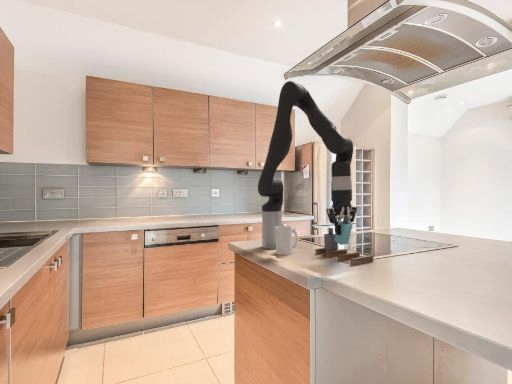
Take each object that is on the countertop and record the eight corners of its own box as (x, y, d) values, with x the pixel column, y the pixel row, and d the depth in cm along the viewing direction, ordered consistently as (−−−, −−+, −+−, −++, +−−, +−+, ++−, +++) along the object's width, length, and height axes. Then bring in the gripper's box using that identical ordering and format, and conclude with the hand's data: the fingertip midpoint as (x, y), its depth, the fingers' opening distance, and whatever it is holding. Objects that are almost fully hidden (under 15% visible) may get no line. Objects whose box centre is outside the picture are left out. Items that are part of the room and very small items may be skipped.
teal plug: (334, 240, 108) (339, 215, 105) (341, 239, 110) (347, 214, 106) (340, 244, 105) (346, 219, 102) (347, 243, 106) (354, 218, 103)
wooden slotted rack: (315, 257, 113) (315, 249, 113) (334, 253, 118) (334, 246, 118) (352, 268, 96) (352, 259, 96) (373, 264, 100) (373, 255, 100)
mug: (281, 258, 111) (280, 228, 111) (272, 255, 117) (272, 226, 117) (302, 255, 116) (301, 226, 116) (293, 252, 122) (292, 224, 122)
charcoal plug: (324, 253, 113) (324, 228, 113) (331, 252, 115) (331, 227, 114) (330, 255, 110) (330, 229, 110) (337, 254, 111) (337, 228, 111)
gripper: (347, 188, 113) (348, 231, 113) (320, 189, 106) (321, 234, 106) (362, 188, 106) (363, 233, 106) (334, 189, 100) (335, 237, 100)
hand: (342, 234), depth 106 cm, fingers closed on teal plug, 3 cm apart
